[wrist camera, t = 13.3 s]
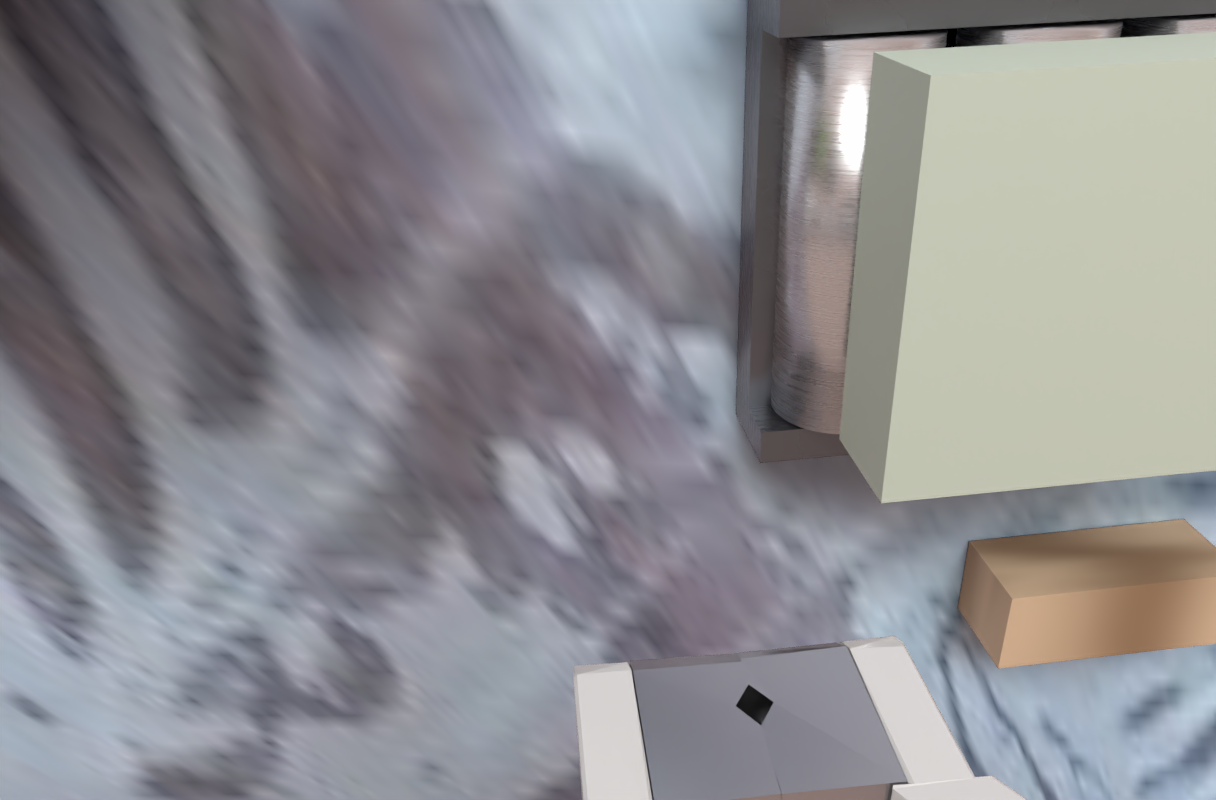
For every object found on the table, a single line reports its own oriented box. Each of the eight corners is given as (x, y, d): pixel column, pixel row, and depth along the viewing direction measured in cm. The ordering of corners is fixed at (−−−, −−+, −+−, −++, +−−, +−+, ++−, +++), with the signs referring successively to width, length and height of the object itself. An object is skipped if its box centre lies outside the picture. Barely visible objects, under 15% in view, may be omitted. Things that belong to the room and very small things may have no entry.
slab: (839, 439, 21) (880, 503, 19) (873, 51, 17) (931, 75, 15) (1227, 403, 22) (1312, 460, 19) (1343, 24, 18) (1463, 43, 16)
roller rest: (957, 607, 28) (998, 668, 26) (969, 541, 27) (1012, 598, 25) (1164, 585, 29) (1220, 643, 26) (1184, 519, 27) (1245, 573, 25)
